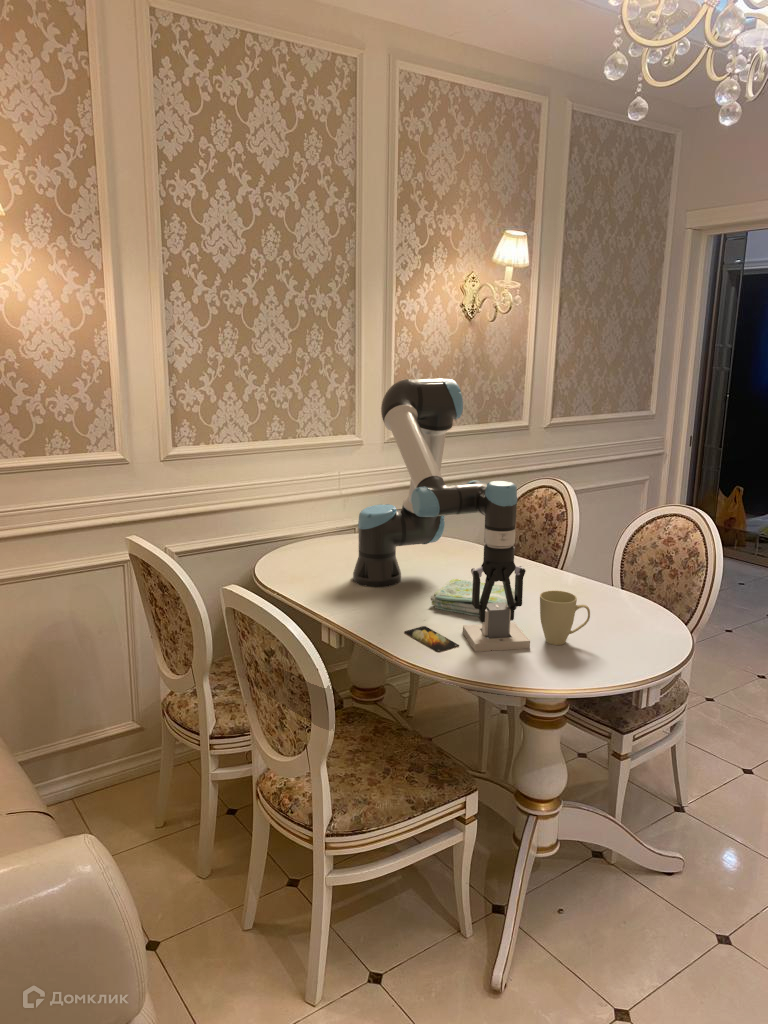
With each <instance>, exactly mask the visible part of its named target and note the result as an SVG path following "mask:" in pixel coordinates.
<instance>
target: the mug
mask: <svg viewBox="0 0 768 1024" xmlns="http://www.w3.org/2000/svg"><path fill="white" fill-rule="evenodd" d="M577 600H578V598H577V595H575V594H573V593H571V592H569V591H564V590H563V591H562V590H547V591H546V590H545V591H543V592H541V593H540V594H539V611H540V612H539V614H540V624H541V628H542V631H543V635H544V639H545V642H546V643H547V644H549V645H554V646H562V645H565V644H566V641H567V640H568V637H569V635H571V634H574V633H576V632H577V631H579V630H581V629H582V628H583V627H585V626H586V625H587V624H588V623H589V621H590V618H591V611H590V610H591V609H590V608H589V606H588V605H587V604H577ZM581 608H585V610H587V617H586V618H587V619H586V620H585V621H583V623H582V624H580V625H579V626H577V627H575V628H574V629H573V630H572V627H573V625H574V621H575V615H576V611H577V610H579V609H581Z"/></svg>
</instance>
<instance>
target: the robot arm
mask: <svg viewBox="0 0 768 1024" xmlns="http://www.w3.org/2000/svg"><path fill="white" fill-rule="evenodd" d="M463 399H464V398H463V395H462V391H461V388H460V386H459V384H458V382H456V380H454V379H452V378H442V377H439V378H414V379H412V378H408V379H407V378H406V379H402V380H399V381H397V382H395V383H394V384H392V385H391V387H389V388H388V389H387V391H386V392H385V394H384V396H383V399H382V402H381V407H380V409H381V410H380V412H381V418H382V422H383V424H384V426H385V427H386V429H387V430H388V431H390V432H391V433H392V435H393V439H394V440H395V443H396V446H397V447H398V449H399V450H398V451H399V453H400V455H401V457H402V460H403V463H404V464H405V467H406V469H407V473H408V474H409V477H410V483H409V491H408V497H405V498H404V500H403V502H402V508H397V507H396V506H395V505H393V504H389V503H388V504H382V503H381V504H375V505H371V506H367V507H366V508H363V509H362V510H360V512H359V513H358V523H357V529H358V531H357V532H358V557H357V559H356V562H355V567H354V569H353V574H352V576H353V577H352V580H353V583H355V584H357V585H360V586H363V587H370V588H384V587H390V586H395V585H397V584H399V583H400V582H401V581H402V572H401V569H400V565H399V562H398V558H397V557H396V556H397V555H396V554H397V553H396V551H397V547H403V546H404V547H405V546H414V545H415V546H416V545H428V544H430V543H431V544H432V543H436V542H438V541H439V540H440V539H441V538H442V536H443V534H444V530H445V527H446V526H445V525H446V524H445V522H446V521H445V516H453V515H470V514H471V515H472V514H481V515H482V516H484V532H483V533H484V534H483V535H484V536H483V542H484V546H483V560H482V561H483V562H482V564H481V565H480V566H479V567H477V568H474V567H473V568H471V570H470V573H471V575H472V581H473V589H472V605H473V606H474V608H475V609H479V616H478V620H479V621H480V623H481V624H482V632H483V634H484V635H485V636H487V635H488V617H489V611H488V610H487V608H486V607H487V604H488V600H489V597H490V594H491V590H492V587H493V586H494V585H495V583H498V582H502V586H504V590H505V595H506V599H507V604H508V606H507V607H508V608H509V609H510V615H509V634H510V623H511V621H514V620H515V610H516V609H517V607H522V606H523V594H524V593H523V591H524V586H523V585H524V577H525V574H526V573H527V570H526V568H524V567H523V566H521V565H519V566H518V565H516V564H515V549H516V548H515V546H514V545H515V542H516V525H517V509H518V494H517V493H518V487H517V485H516V484H515V483H514V482H511V481H506V480H493V481H489V482H488V483H487V482H486V481H485V482H484V480H483V481H482V480H469V481H468V482H467V483H464V484H452V485H451V484H449V485H448V484H447V485H446V481H445V480H444V477H443V476H442V474H441V469H442V462H443V456H444V448H445V443H446V435H447V432H448V431H451V429H452V428H453V423H454V420H458V419H460V418H461V416H462V415H463V411H464V401H463ZM483 573H484V574H485V582H484V583H485V585H484V589H483V592H482V596H481V599H480V602H479V598H480V582H481V577H482V575H483ZM513 573H514V574H515V575H514V577H515V578H514V589H515V600H514V599H513V594H512V590H511V588H512V586H511V579H510V577H511V575H512V574H513Z"/></svg>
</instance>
